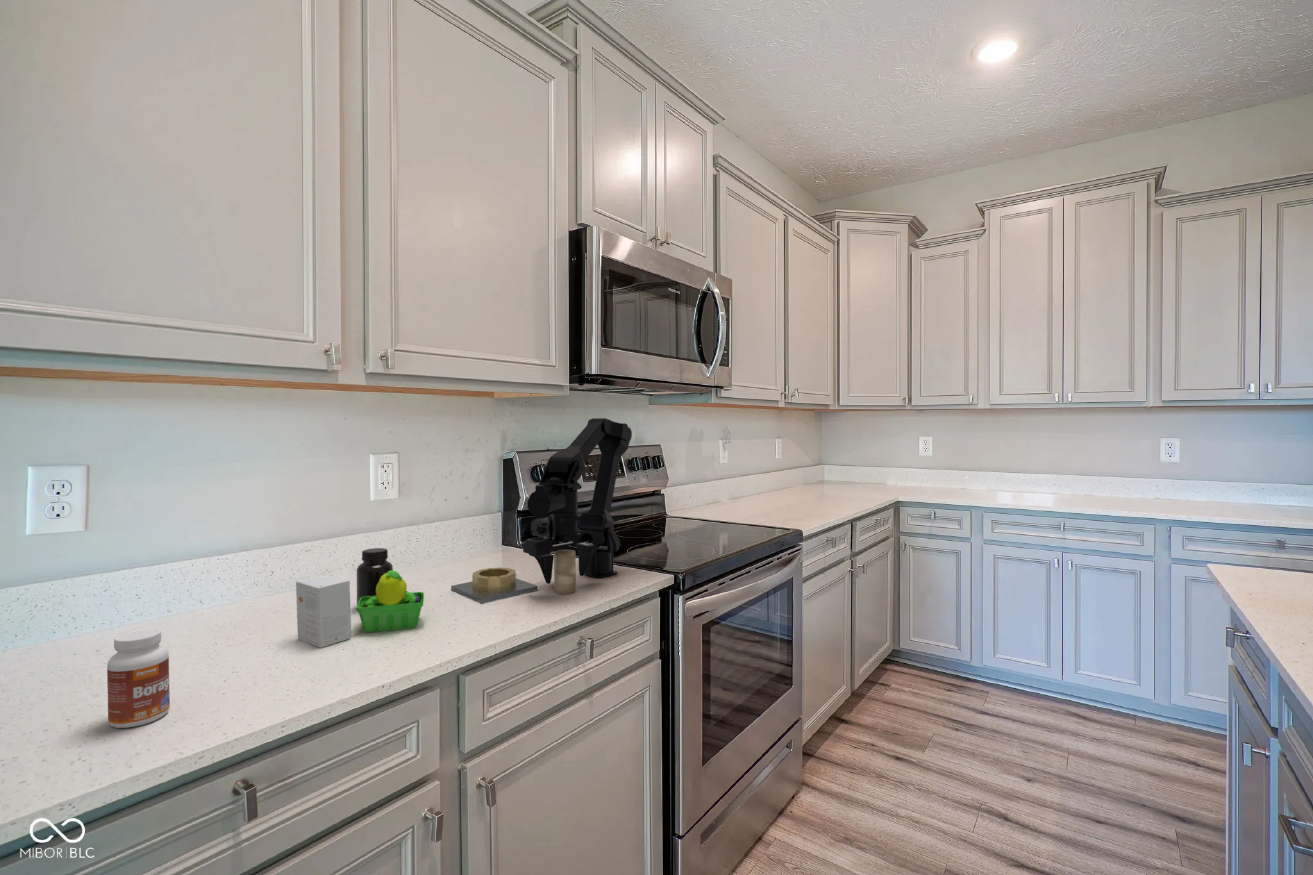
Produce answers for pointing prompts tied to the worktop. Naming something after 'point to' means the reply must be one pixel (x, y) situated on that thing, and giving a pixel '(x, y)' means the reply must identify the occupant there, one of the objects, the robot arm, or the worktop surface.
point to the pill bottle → (138, 679)
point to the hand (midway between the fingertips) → (565, 579)
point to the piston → (564, 571)
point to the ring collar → (493, 585)
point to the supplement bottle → (371, 571)
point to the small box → (323, 610)
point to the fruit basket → (390, 605)
